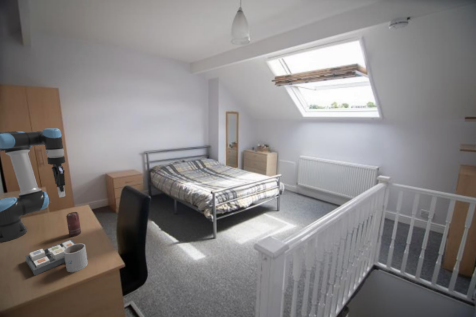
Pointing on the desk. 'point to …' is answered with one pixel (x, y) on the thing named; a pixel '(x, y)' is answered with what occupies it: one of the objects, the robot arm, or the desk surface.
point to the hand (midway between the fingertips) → (62, 196)
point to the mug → (75, 257)
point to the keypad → (53, 262)
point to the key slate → (37, 255)
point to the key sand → (58, 253)
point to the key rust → (41, 262)
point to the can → (73, 224)
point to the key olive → (53, 249)
